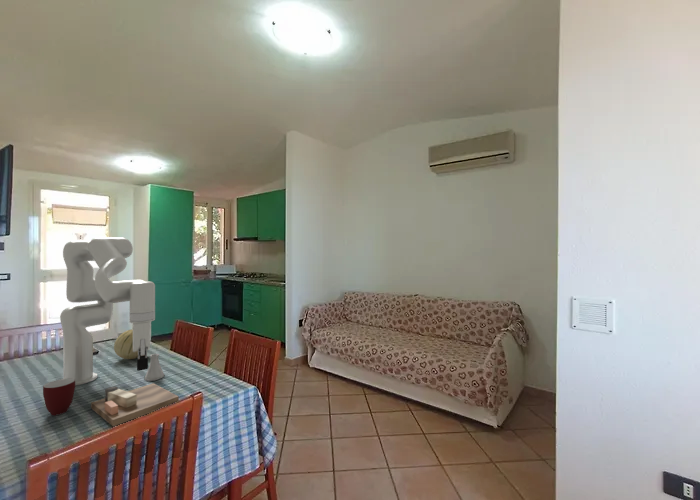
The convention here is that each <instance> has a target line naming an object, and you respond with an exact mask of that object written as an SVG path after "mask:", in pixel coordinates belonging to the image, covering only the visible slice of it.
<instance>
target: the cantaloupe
mask: <svg viewBox="0 0 700 500" xmlns="http://www.w3.org/2000/svg"><path fill="white" fill-rule="evenodd" d="M113 344H114V345H113V350H114V354H116V356H117V357H120V358H122V359H125V360H135V359H137V358H138V350H137V351H135V353H134V352H133V329H128V330H125V331H124V332H122V333H121V334H119V336H117V337H116V340H115V341H114V343H113Z"/></svg>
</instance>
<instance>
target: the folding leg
mask: <svg viewBox="0 0 700 500" xmlns="http://www.w3.org/2000/svg"><path fill="white" fill-rule="evenodd" d="M127 391H128V390H124V389H120V388H119V387H118V386H110V387H107V388H105V389H104V398H105V401H113V402H114V403H116V404H117V405H120V406H122V407H125V408H128V407H130V406H133V405H135V404H137V394H133V393H130V392H127Z"/></svg>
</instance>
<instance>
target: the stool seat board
mask: <svg viewBox="0 0 700 500" xmlns="http://www.w3.org/2000/svg"><path fill="white" fill-rule="evenodd" d="M126 391H127V392H130V393H133V394H137V404H135V405H133V406H130V407H128V408H125V407H122V406H120V405H118V413H116V414H113V415H111V414H110V413H108V412H107V411H106V410H105V402H108V401H105V397H104V398H101V399H98V400H95V401H93V402H90V408H91V410H93V411H94V412H95V413H96V414H97V415H99V417H101V418H102V419H103V420H105V421H106V423H108V424H109V425H111V426H112V427H115V426H118V425H120V424H123V423H126V422H128V421H131V420H134V419H136V418H139V417H142V416H145V415H148V414H150V413H153V412H155V411H154V410H156V411H158V410H160V409H159V408H161V407H164V406H166V405H169V404H172V403H174V402H177V401H179V400H180V399H179V396H178V395H177V394H175V393H174V392H171V391H169V390H167V389H165V388H163V387H161V386H159V385H158V384H155V383H150V384H146V385H144V386H140V387H136V388H134V389H131V390H126ZM179 402H180V401H179ZM177 403H178V402H177ZM174 404H175V403H174ZM172 405H173V404H172ZM169 406H170V405H169ZM166 407H167V406H166ZM164 408H165V407H164ZM157 409H158V410H157ZM161 409H162V408H161ZM152 411H153V412H152Z"/></svg>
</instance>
